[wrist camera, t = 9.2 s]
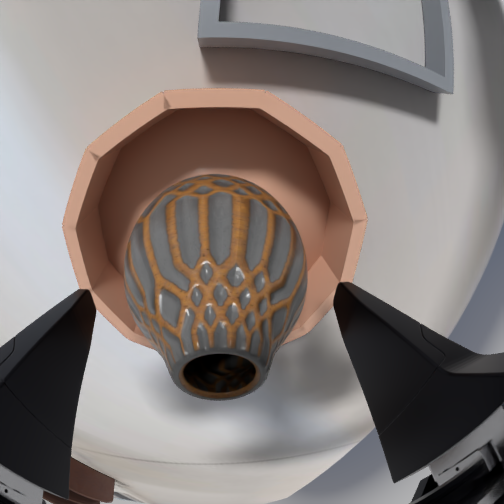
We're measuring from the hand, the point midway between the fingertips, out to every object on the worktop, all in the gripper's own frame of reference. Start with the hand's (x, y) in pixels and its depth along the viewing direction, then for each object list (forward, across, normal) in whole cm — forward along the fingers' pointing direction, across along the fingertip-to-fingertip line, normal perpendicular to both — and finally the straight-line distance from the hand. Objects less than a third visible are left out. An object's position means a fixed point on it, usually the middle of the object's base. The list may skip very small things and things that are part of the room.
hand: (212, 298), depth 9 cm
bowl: (+6, 0, 0) cm, 6 cm away
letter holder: (+6, +37, +58) cm, 69 cm away
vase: (+6, 0, 0) cm, 6 cm away
